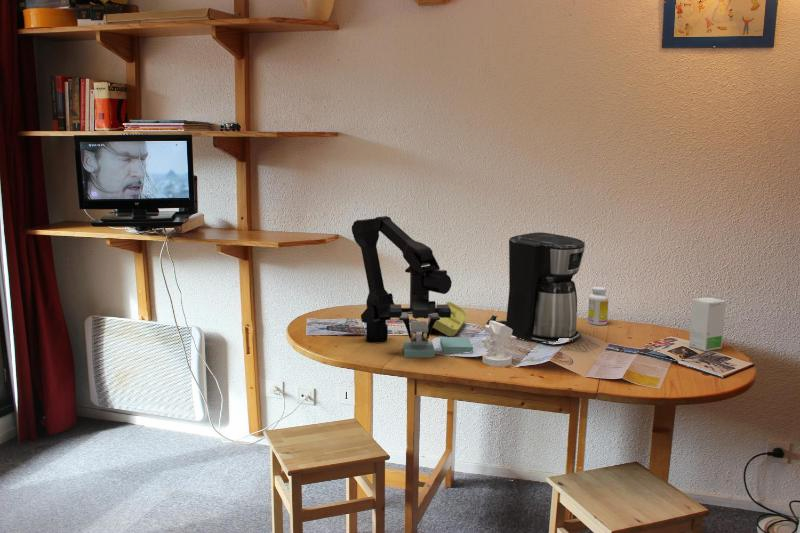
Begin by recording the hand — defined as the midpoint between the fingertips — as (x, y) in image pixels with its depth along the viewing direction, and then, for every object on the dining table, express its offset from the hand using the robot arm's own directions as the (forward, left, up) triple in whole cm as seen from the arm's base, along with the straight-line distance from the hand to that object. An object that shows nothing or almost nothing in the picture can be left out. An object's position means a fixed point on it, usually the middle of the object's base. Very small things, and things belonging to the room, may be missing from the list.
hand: (418, 338), depth 206 cm
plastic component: (+12, +26, -5) cm, 29 cm away
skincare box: (+91, +4, -5) cm, 91 cm away
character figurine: (+23, -9, -5) cm, 25 cm away
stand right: (+12, +4, -4) cm, 13 cm away
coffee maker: (+42, +22, -5) cm, 48 cm away
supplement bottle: (+66, +33, -5) cm, 74 cm away
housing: (0, 0, -1) cm, 1 cm away
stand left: (0, 0, -4) cm, 4 cm away
